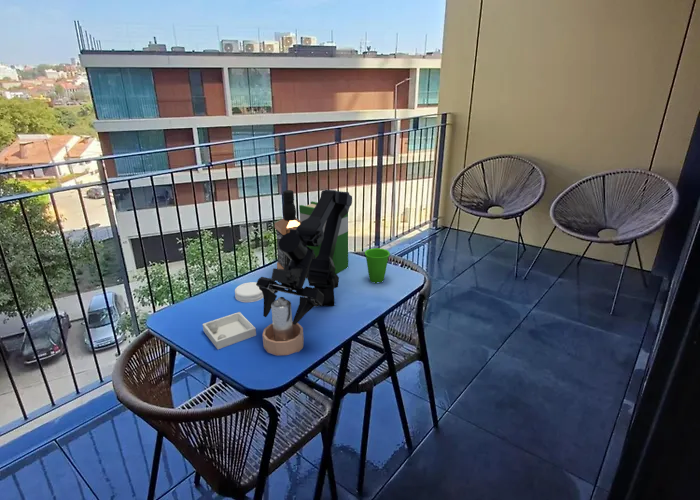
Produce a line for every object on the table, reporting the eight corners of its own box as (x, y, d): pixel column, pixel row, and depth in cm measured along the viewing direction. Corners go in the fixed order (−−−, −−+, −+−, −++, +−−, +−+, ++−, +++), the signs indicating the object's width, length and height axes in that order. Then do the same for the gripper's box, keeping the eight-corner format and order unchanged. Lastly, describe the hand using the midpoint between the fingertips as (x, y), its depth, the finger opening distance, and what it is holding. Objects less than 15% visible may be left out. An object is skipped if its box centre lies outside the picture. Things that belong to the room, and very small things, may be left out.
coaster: (230, 296, 141) (229, 286, 139) (257, 288, 146) (256, 279, 145) (243, 307, 133) (241, 298, 132) (270, 298, 139) (270, 289, 138)
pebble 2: (228, 339, 115) (227, 332, 114) (226, 344, 113) (225, 337, 112) (219, 340, 115) (218, 332, 114) (217, 345, 113) (216, 337, 112)
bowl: (304, 333, 119) (303, 320, 117) (302, 356, 109) (301, 341, 107) (267, 335, 118) (265, 321, 116) (261, 357, 108) (260, 343, 107)
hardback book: (302, 263, 166) (299, 205, 157) (314, 257, 172) (312, 201, 163) (336, 273, 156) (335, 213, 148) (348, 267, 162) (347, 208, 153)
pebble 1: (219, 329, 120) (218, 322, 119) (217, 334, 118) (216, 326, 117) (211, 329, 120) (209, 322, 119) (208, 334, 117) (207, 327, 117)
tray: (240, 320, 126) (239, 311, 124) (256, 337, 117) (255, 327, 116) (203, 332, 119) (202, 323, 118) (217, 351, 111) (216, 341, 110)
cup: (393, 278, 152) (394, 251, 148) (381, 288, 145) (382, 259, 141) (372, 273, 157) (372, 246, 153) (359, 282, 150) (359, 254, 146)
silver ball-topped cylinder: (289, 335, 117) (285, 291, 111) (296, 344, 112) (293, 299, 107) (271, 340, 114) (267, 295, 109) (278, 350, 110) (274, 304, 105)
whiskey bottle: (276, 271, 159) (270, 189, 147) (300, 266, 163) (296, 186, 152) (285, 281, 151) (279, 195, 139) (310, 275, 155) (307, 192, 143)
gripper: (257, 249, 111) (234, 304, 106) (317, 260, 104) (296, 320, 98) (275, 265, 121) (256, 316, 115) (332, 276, 113) (314, 331, 108)
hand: (279, 320), depth 109 cm, fingers open, 9 cm apart
